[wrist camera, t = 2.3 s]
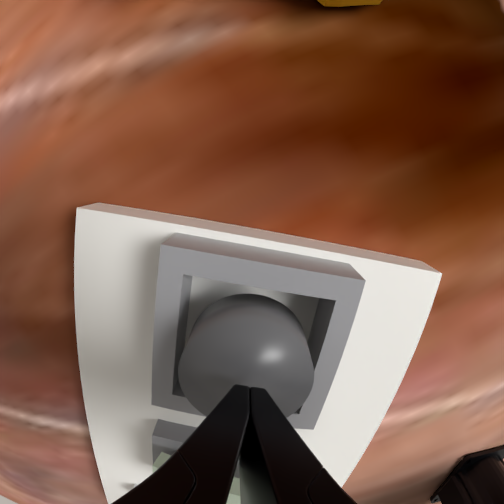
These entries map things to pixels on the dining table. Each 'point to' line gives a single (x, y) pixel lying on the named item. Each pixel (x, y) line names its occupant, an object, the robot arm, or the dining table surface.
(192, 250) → the panel
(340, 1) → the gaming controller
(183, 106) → the dining table surface
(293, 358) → the push button
